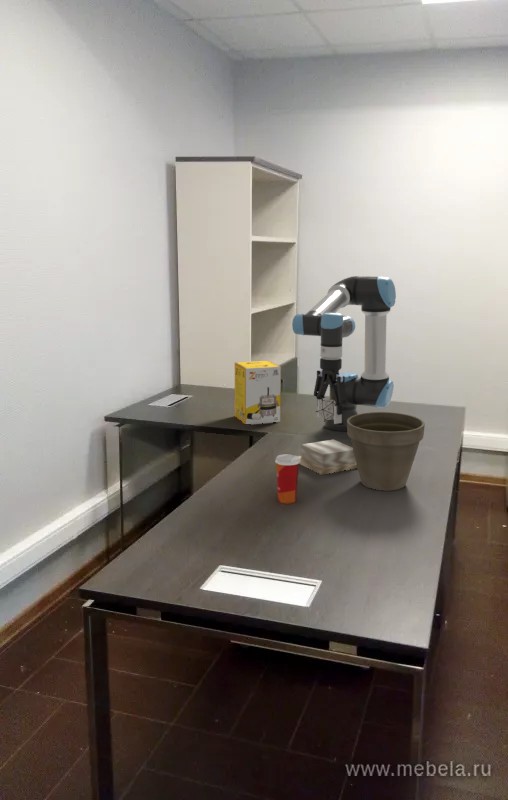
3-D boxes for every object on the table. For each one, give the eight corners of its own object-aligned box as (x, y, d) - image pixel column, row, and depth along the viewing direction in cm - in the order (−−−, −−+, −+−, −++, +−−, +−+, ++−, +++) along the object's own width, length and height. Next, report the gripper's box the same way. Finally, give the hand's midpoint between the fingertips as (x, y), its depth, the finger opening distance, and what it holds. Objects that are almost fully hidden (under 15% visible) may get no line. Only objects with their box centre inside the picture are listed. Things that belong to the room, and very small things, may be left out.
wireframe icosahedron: (333, 431, 250) (341, 414, 243) (310, 422, 251) (318, 404, 244) (340, 415, 256) (348, 397, 249) (318, 405, 257) (325, 387, 250)
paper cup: (283, 494, 224) (283, 452, 221) (303, 499, 220) (304, 456, 217) (269, 501, 218) (269, 458, 215) (290, 506, 214) (291, 462, 211)
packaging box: (268, 413, 328) (268, 360, 322) (280, 422, 313) (281, 366, 307) (234, 416, 323) (234, 362, 317) (245, 425, 308) (245, 368, 302)
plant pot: (370, 501, 218) (373, 434, 213) (331, 477, 240) (333, 415, 236) (436, 490, 228) (440, 425, 223) (392, 468, 250) (395, 408, 245)
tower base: (334, 454, 266) (334, 437, 265) (363, 467, 251) (364, 449, 250) (293, 460, 258) (293, 443, 257) (321, 475, 243) (321, 456, 241)
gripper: (304, 354, 254) (303, 414, 259) (340, 363, 235) (338, 428, 240) (321, 352, 257) (320, 412, 262) (359, 361, 238) (356, 425, 243)
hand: (329, 419), depth 251 cm, fingers closed on wireframe icosahedron, 10 cm apart
